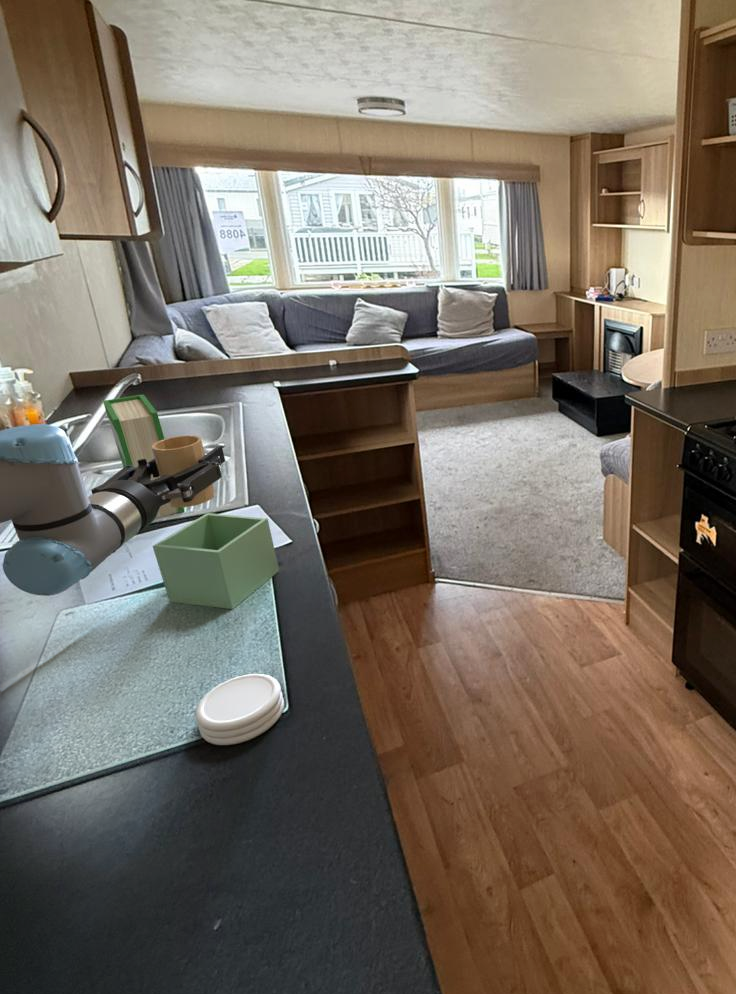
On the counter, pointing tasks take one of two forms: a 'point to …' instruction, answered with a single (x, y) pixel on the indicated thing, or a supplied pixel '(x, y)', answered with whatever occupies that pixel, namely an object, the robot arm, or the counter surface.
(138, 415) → the hardback book
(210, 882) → the counter surface
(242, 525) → the bin
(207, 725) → the coaster
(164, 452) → the tan hollow cylinder
